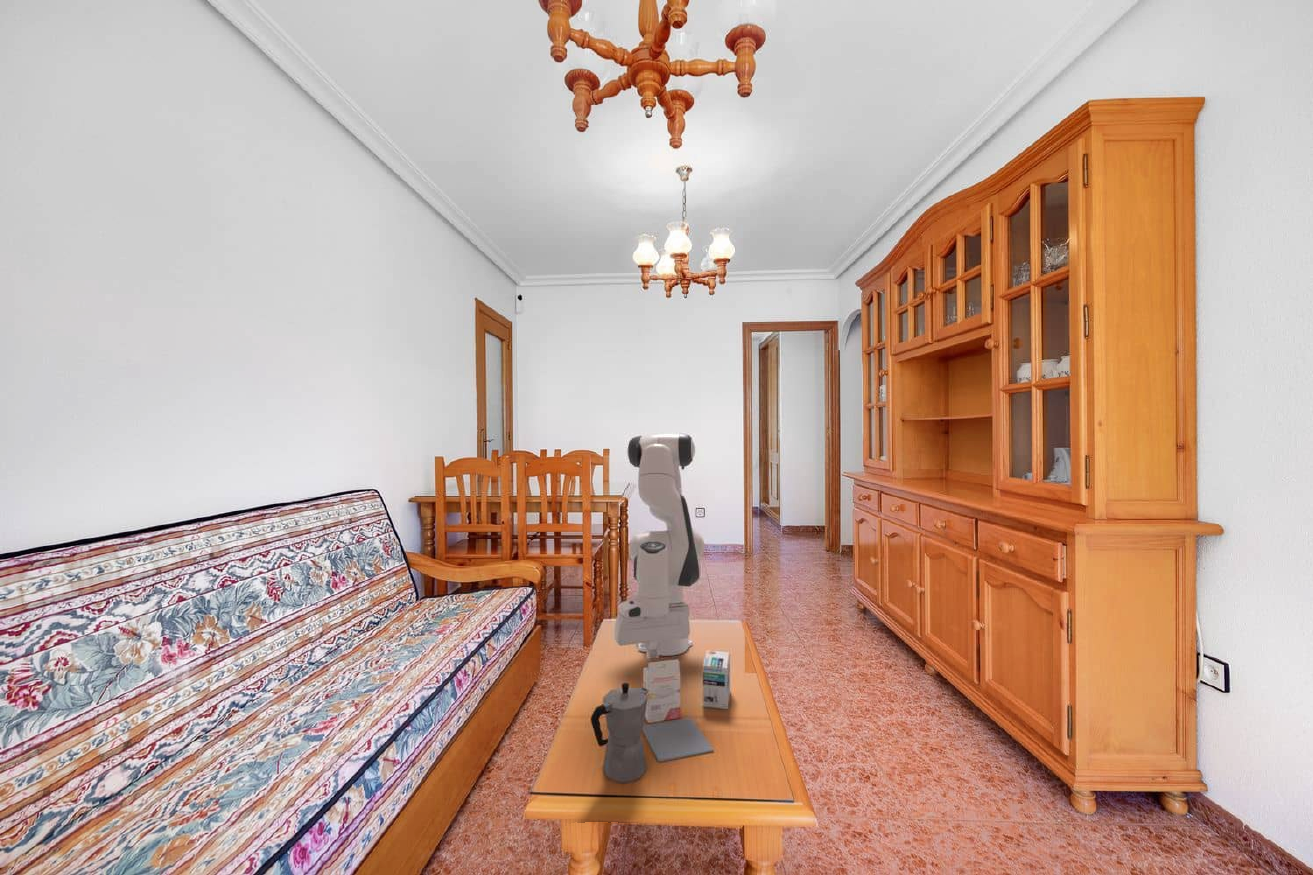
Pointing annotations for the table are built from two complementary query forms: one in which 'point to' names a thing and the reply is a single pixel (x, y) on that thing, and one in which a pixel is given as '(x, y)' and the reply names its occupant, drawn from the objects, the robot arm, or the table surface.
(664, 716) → the ink cartridge box
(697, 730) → the mat
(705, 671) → the light bulb box
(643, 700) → the coffeepot
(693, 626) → the table surface
